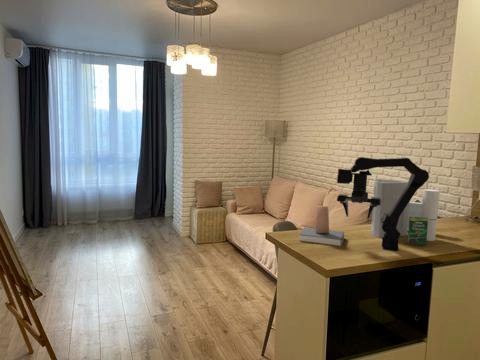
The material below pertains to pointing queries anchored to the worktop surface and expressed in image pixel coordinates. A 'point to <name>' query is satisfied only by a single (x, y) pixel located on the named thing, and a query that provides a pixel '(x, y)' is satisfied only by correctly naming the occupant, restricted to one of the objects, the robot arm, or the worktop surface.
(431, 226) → the cylindrical container
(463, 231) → the worktop surface
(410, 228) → the coffee box
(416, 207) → the skincare box
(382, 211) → the tall white carton
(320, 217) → the pink cylinder
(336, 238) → the book
